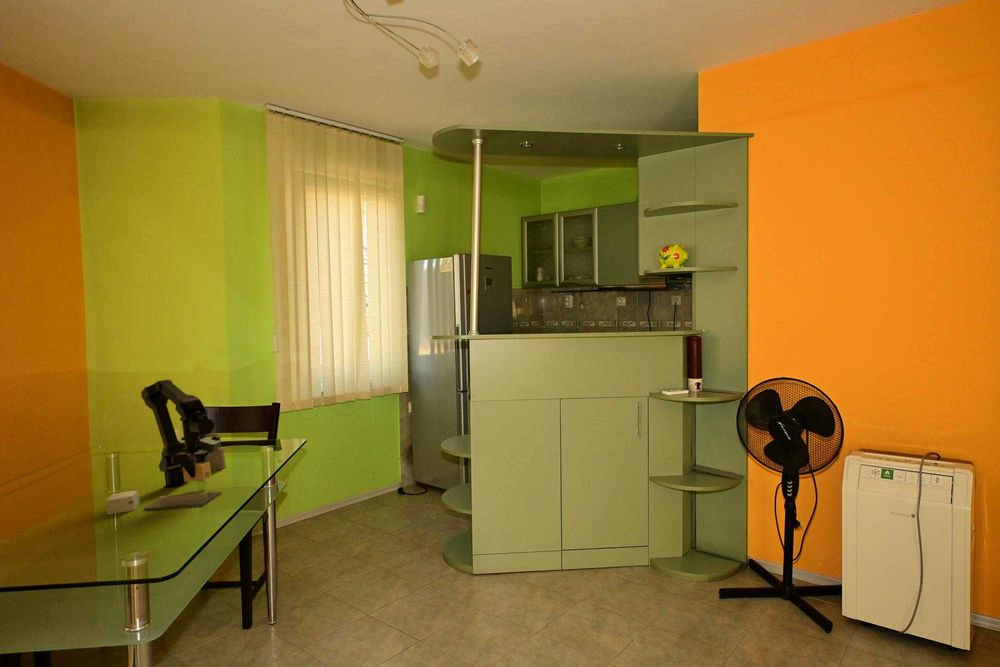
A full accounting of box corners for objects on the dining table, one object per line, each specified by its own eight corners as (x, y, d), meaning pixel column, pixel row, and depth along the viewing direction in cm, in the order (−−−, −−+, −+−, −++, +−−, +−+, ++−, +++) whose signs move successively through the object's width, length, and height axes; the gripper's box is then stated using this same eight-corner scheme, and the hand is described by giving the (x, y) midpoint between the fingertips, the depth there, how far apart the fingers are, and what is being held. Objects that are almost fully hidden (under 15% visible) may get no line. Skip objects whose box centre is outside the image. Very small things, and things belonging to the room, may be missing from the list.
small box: (107, 515, 189) (105, 500, 188) (114, 507, 196) (112, 493, 196) (134, 510, 191) (132, 495, 191) (140, 503, 199) (138, 489, 198)
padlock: (223, 469, 234) (218, 433, 233) (202, 472, 233) (197, 435, 232) (226, 466, 238) (222, 431, 237) (205, 469, 237) (201, 433, 236)
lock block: (184, 481, 205) (182, 467, 205) (192, 477, 211) (191, 463, 210) (203, 480, 205) (201, 465, 205) (211, 475, 210) (209, 461, 210)
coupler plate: (143, 510, 190) (142, 503, 189) (165, 498, 202) (165, 491, 201) (202, 506, 189) (201, 499, 189) (221, 493, 201) (220, 487, 201)
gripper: (199, 437, 197) (205, 481, 198) (227, 425, 216) (232, 466, 217) (168, 439, 198) (173, 484, 199) (198, 427, 216) (203, 468, 217)
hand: (197, 475), depth 208 cm, fingers closed on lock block, 5 cm apart
